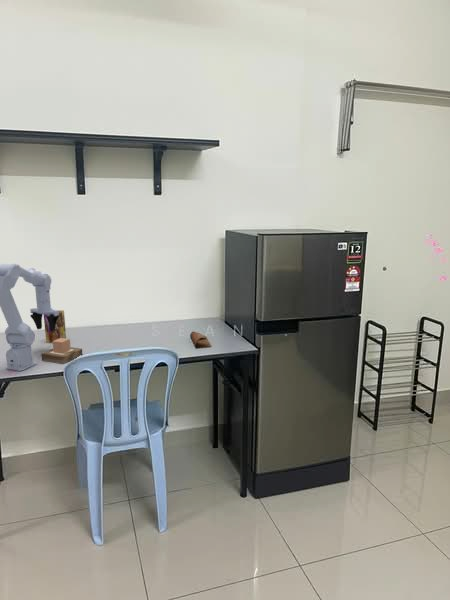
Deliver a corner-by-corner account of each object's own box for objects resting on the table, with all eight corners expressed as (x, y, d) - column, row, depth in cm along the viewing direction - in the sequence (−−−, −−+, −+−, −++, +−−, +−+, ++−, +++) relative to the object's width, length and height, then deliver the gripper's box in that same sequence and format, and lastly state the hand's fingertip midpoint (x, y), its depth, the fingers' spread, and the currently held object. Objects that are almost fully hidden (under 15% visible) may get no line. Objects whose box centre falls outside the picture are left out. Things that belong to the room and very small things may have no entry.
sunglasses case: (213, 347, 209) (206, 336, 207) (200, 355, 208) (193, 344, 206) (206, 336, 226) (199, 325, 224) (194, 344, 225) (187, 333, 223)
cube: (62, 353, 191) (61, 342, 190) (53, 352, 193) (52, 341, 192) (70, 350, 196) (69, 339, 195) (61, 348, 198) (60, 337, 197)
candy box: (66, 339, 221) (64, 309, 218) (64, 342, 217) (62, 311, 214) (48, 340, 220) (45, 310, 217) (45, 342, 216) (43, 312, 213)
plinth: (63, 363, 187) (63, 357, 187) (41, 360, 192) (41, 353, 191) (82, 355, 198) (82, 348, 198) (61, 351, 203) (60, 345, 202)
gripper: (62, 299, 199) (64, 329, 202) (37, 297, 204) (40, 325, 207) (51, 303, 193) (53, 333, 195) (25, 300, 198) (28, 329, 201)
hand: (45, 329), depth 201 cm, fingers open, 7 cm apart
